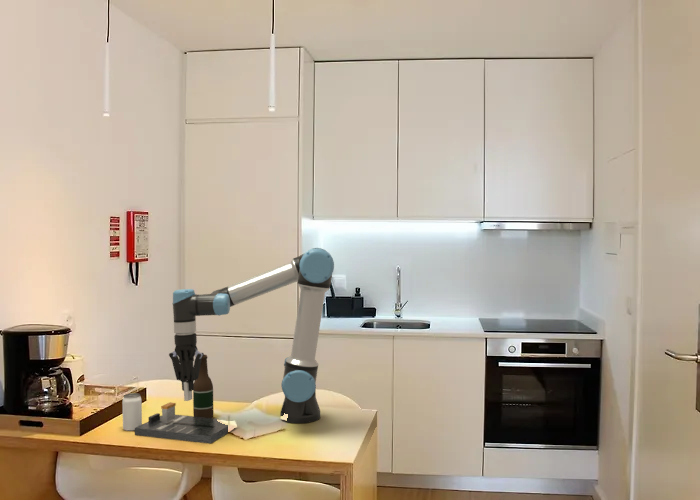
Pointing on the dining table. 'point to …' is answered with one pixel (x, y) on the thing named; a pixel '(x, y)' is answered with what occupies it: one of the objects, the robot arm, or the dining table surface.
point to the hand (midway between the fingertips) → (188, 399)
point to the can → (132, 411)
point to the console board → (183, 428)
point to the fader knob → (168, 412)
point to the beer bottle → (203, 392)
